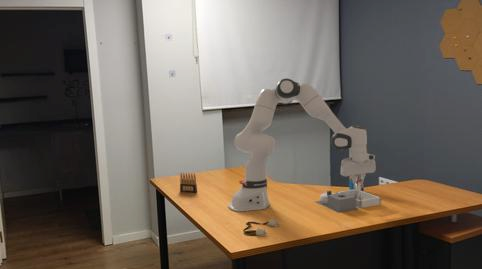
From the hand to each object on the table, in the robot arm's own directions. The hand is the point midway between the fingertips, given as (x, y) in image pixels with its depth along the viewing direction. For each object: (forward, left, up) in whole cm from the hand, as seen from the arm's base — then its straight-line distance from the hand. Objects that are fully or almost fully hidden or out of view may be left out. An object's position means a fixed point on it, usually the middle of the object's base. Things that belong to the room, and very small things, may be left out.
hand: (358, 182), depth 245 cm
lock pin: (0, -1, -10) cm, 11 cm away
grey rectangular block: (-14, 0, -12) cm, 18 cm away
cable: (-63, -9, -12) cm, 65 cm away
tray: (0, 0, -12) cm, 12 cm away
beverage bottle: (+15, +21, -12) cm, 28 cm away
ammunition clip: (-71, +71, -12) cm, 101 cm away
